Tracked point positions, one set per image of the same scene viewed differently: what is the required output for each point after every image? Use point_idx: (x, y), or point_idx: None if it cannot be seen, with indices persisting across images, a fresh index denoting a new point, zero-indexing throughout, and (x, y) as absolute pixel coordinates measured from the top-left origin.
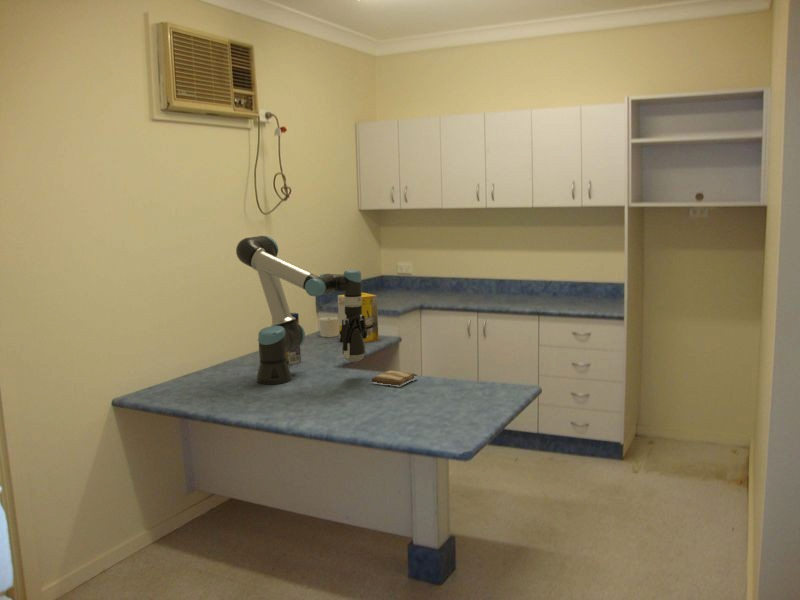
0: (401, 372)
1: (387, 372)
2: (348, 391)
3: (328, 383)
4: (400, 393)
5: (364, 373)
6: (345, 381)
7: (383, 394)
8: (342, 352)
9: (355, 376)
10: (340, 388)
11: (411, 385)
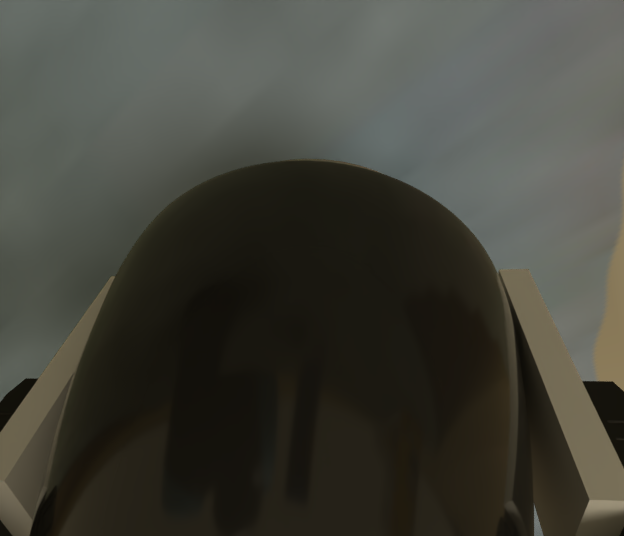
0: None
1: None
2: (35, 341)
3: (41, 75)
4: None
5: (528, 146)
6: (194, 171)
7: None
8: (138, 239)
9: (385, 140)
10: (34, 261)
11: None
